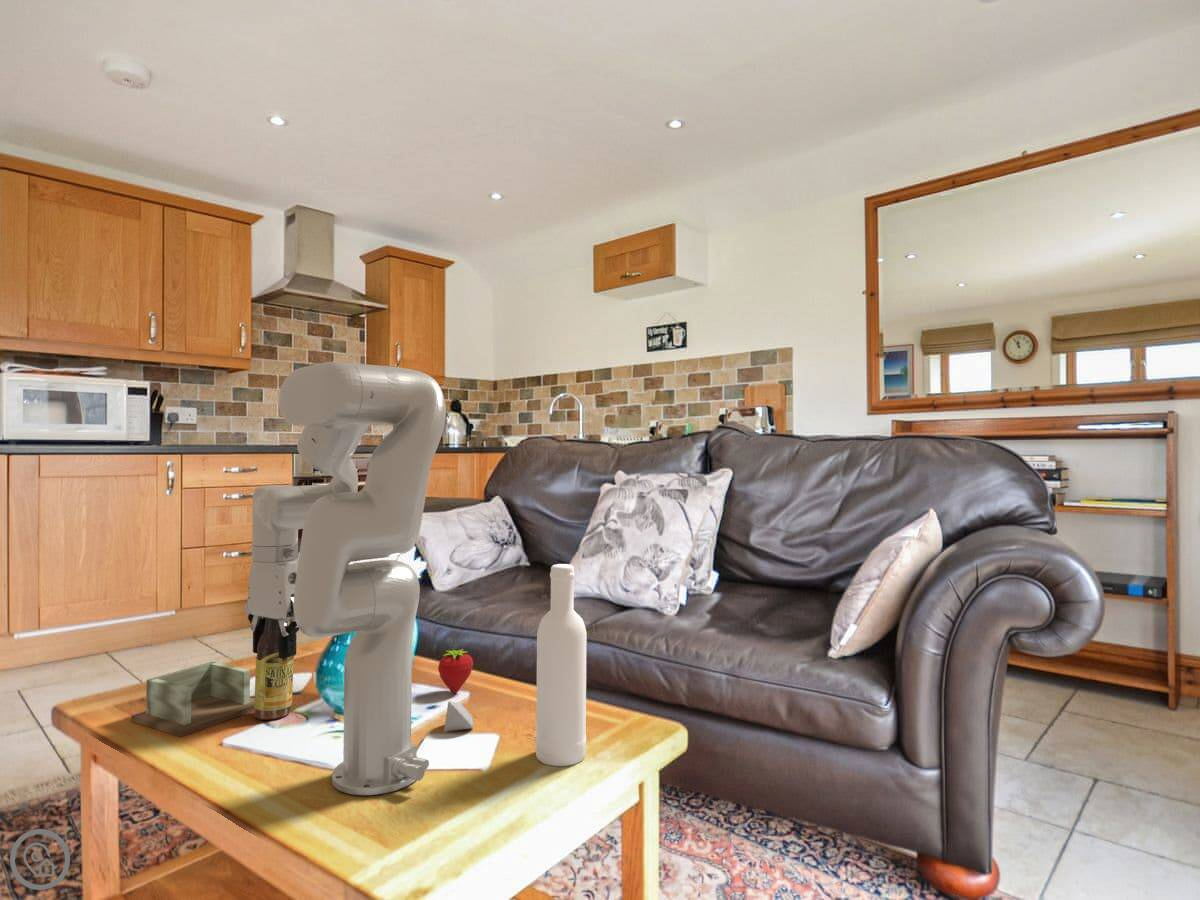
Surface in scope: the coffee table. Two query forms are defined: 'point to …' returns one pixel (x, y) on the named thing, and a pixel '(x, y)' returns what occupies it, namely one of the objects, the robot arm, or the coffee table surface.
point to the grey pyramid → (457, 717)
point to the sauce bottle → (272, 676)
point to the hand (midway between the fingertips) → (274, 653)
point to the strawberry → (455, 669)
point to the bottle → (561, 676)
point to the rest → (196, 698)
